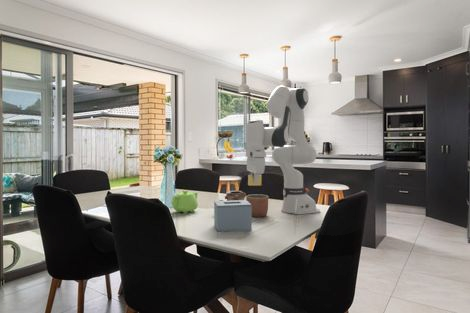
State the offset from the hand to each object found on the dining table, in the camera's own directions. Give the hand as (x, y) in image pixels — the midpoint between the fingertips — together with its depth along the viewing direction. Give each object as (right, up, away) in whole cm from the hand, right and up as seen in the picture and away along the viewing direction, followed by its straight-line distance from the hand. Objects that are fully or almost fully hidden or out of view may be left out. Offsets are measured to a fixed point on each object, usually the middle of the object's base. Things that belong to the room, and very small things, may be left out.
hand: (254, 181), depth 153 cm
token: (0, -2, 0) cm, 2 cm away
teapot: (-39, -21, +35) cm, 56 cm away
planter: (+3, -21, +24) cm, 32 cm away
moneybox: (-11, -22, -1) cm, 24 cm away
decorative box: (-10, -20, +50) cm, 55 cm away
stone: (-16, -21, +26) cm, 37 cm away
